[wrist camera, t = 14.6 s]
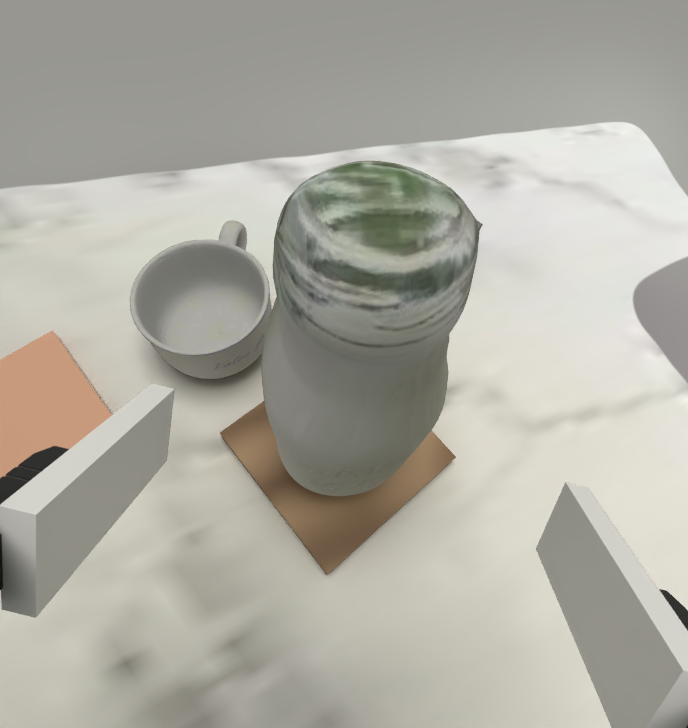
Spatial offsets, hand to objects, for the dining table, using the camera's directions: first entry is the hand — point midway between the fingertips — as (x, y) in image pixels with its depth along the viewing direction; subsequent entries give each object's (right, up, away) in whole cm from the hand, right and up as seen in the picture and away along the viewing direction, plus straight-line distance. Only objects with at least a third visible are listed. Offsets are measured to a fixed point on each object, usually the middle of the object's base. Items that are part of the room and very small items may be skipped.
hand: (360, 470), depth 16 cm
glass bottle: (-1, -3, +24) cm, 25 cm away
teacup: (-12, +7, +30) cm, 33 cm away
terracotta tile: (-27, -2, +24) cm, 36 cm away
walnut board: (-1, -4, +26) cm, 26 cm away
